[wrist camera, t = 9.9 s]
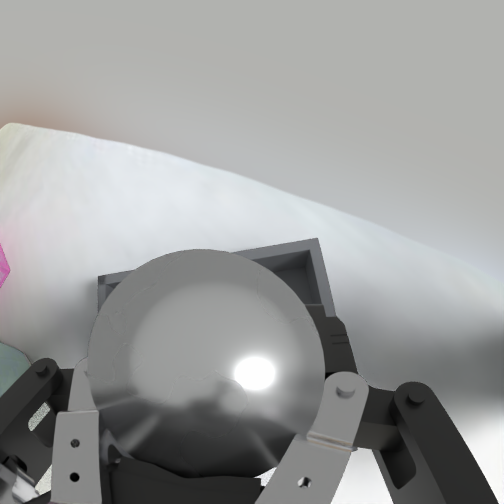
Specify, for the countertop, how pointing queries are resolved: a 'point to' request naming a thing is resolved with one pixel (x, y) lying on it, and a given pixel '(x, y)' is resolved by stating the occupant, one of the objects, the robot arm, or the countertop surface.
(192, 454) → the silver lidded jar
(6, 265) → the gum box
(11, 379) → the disposable coffee cup
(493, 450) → the countertop surface
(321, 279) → the tote
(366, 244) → the countertop surface
